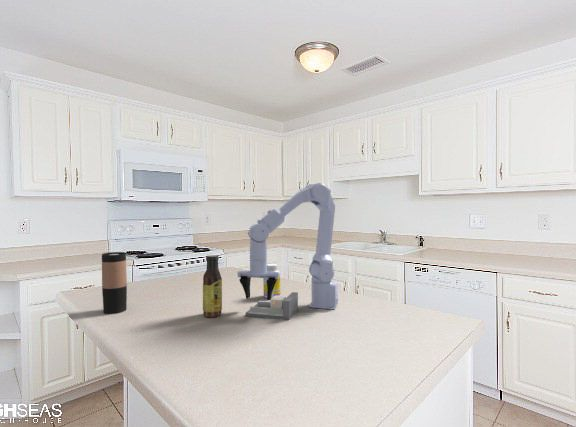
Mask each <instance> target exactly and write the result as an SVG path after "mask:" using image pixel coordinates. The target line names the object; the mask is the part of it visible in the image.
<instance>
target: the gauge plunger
mask: <svg viewBox="0 0 576 427" xmlns="http://www.w3.org/2000/svg"><path fill="white" fill-rule="evenodd" d="M286 298H287V295H280V296H274V297H273V298H272V299H270V300H269V302H270V308H276V309H283V301H284V300H285V299H286Z"/></svg>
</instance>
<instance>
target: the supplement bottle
mask: <svg viewBox="0 0 576 427" xmlns="http://www.w3.org/2000/svg"><path fill="white" fill-rule="evenodd" d="M278 268H279V267H278V264H276V263H267V271H271V272H280V270H278ZM262 279H263V280H262V281H263V297H264V298H265V299H267V292H268V290H267V282H266V280H268V279H269V278H262ZM274 296H281V277H280V278H279V279H277V281H276V283H275V285H274V288H273V291H272V296H271V299H272V298H273V297H274Z"/></svg>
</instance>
